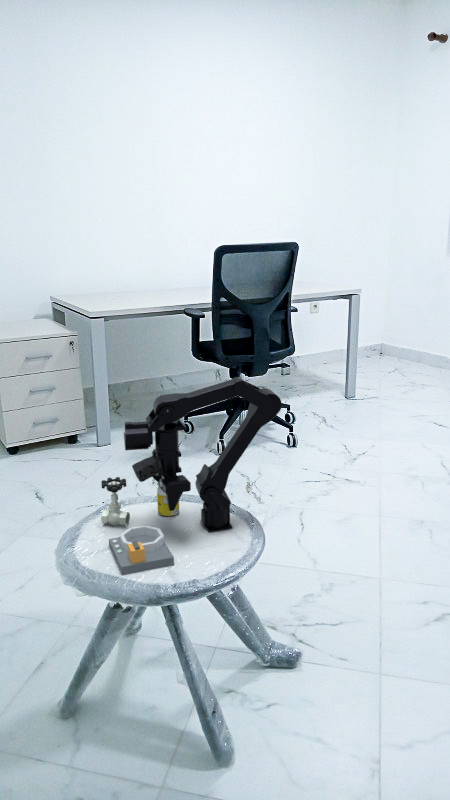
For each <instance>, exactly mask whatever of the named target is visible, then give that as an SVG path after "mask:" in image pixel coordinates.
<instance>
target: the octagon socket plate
mask: <svg viewBox="0 0 450 800" xmlns="http://www.w3.org/2000/svg"><path fill="white" fill-rule="evenodd" d="M132 541H137V542H141V543H142V545H143V547H144V549H145V561H144V562H139V563H133V564H132V563H131V561H130V559H129V557H128V544H132ZM108 548H109V550H110V552H111V554H112V556H113V558H114V561H115V563H116V566H117V568H118V570H119V571H120V574H121V576H125V575H130V574H134V573H135V574H136V573H141V572H144V571H151V570H156V569H159V568H164V567H165V568H167V567H169V566H170V567H172V566H175V557H174V555H173V554H172V552H171V551H170V548H169V547H168V546H167V544H166V542H165V535H164V533H163V531H162V530H161V529H160V528H159V527H155V526H149V525H140V526H134V527H129V528H127V529H126V530H125V531H124V532H122V533H121V534H120V535H119V537H112V538H108Z"/></svg>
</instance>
